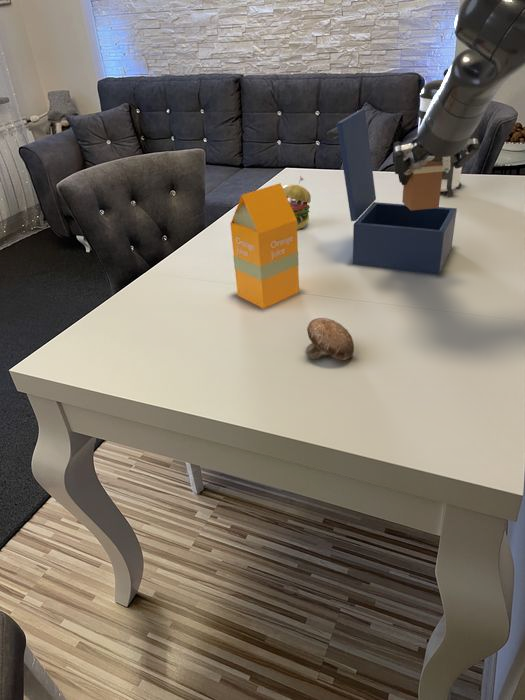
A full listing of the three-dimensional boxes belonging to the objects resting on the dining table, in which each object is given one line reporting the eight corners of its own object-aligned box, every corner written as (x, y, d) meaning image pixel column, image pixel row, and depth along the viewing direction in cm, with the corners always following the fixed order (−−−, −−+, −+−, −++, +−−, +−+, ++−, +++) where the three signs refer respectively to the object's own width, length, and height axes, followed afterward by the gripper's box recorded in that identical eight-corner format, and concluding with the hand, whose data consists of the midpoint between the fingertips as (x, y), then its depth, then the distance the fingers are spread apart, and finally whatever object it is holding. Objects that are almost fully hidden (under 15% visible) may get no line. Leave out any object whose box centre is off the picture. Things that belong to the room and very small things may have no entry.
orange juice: (237, 298, 100) (226, 191, 89) (272, 282, 104) (266, 179, 94) (264, 311, 95) (255, 199, 84) (300, 295, 99) (296, 186, 88)
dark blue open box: (451, 250, 112) (456, 208, 107) (438, 277, 101) (444, 232, 97) (371, 242, 119) (373, 202, 114) (352, 266, 108) (353, 223, 103)
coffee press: (395, 187, 151) (403, 69, 135) (448, 181, 153) (462, 63, 137) (421, 205, 137) (433, 75, 121) (479, 198, 139) (499, 68, 123)
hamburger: (274, 228, 130) (271, 178, 124) (295, 220, 134) (293, 171, 127) (296, 235, 125) (294, 184, 119) (317, 227, 129) (317, 176, 122)
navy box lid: (364, 108, 105) (341, 113, 107) (341, 122, 95) (316, 126, 97) (376, 199, 113) (354, 201, 116) (356, 220, 103) (332, 222, 105)
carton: (429, 199, 98) (433, 154, 93) (439, 208, 93) (444, 160, 89) (401, 202, 98) (405, 156, 93) (410, 210, 93) (414, 163, 89)
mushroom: (288, 347, 78) (312, 313, 76) (301, 339, 85) (323, 307, 84) (332, 380, 77) (358, 346, 75) (341, 369, 84) (365, 337, 82)
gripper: (495, 91, 79) (454, 156, 96) (400, 99, 79) (375, 163, 96) (505, 135, 78) (462, 194, 94) (408, 144, 77) (382, 201, 94)
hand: (418, 178), depth 95 cm, fingers closed on carton, 5 cm apart
